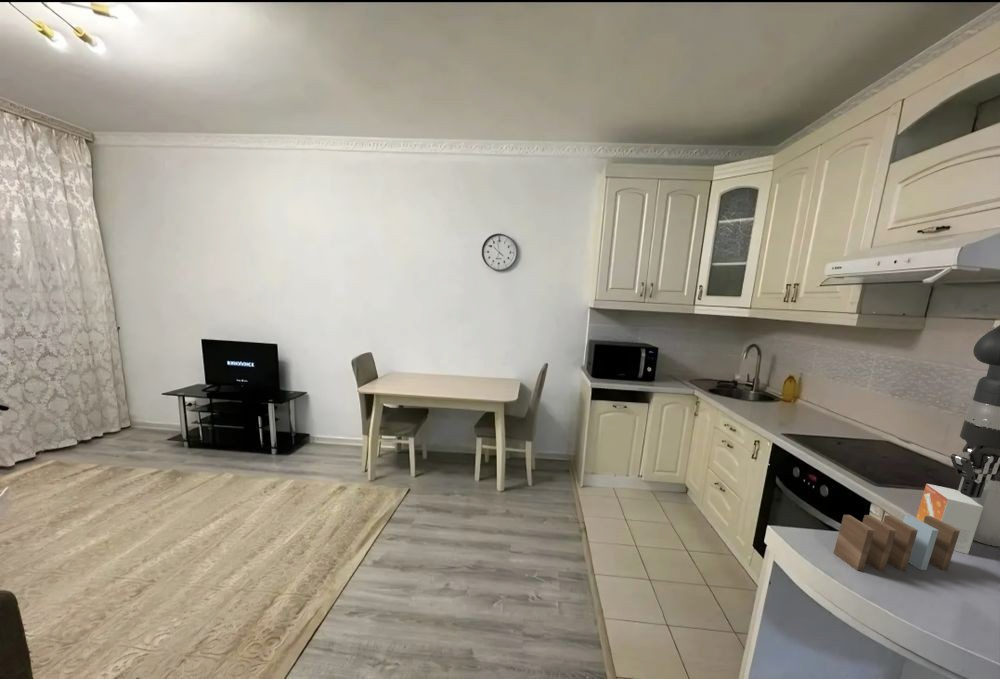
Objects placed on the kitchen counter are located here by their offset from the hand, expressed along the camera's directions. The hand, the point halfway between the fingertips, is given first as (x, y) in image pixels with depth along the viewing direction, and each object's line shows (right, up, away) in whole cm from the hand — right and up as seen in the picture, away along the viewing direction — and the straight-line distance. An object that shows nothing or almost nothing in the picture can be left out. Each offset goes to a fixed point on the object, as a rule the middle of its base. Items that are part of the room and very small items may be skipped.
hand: (969, 495), depth 80 cm
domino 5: (-7, -16, +2) cm, 18 cm away
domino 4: (-12, -16, +1) cm, 20 cm away
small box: (+6, -16, +10) cm, 20 cm away
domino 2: (-23, -15, 0) cm, 28 cm away
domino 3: (-18, -16, +1) cm, 23 cm away
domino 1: (-28, -15, 0) cm, 32 cm away
